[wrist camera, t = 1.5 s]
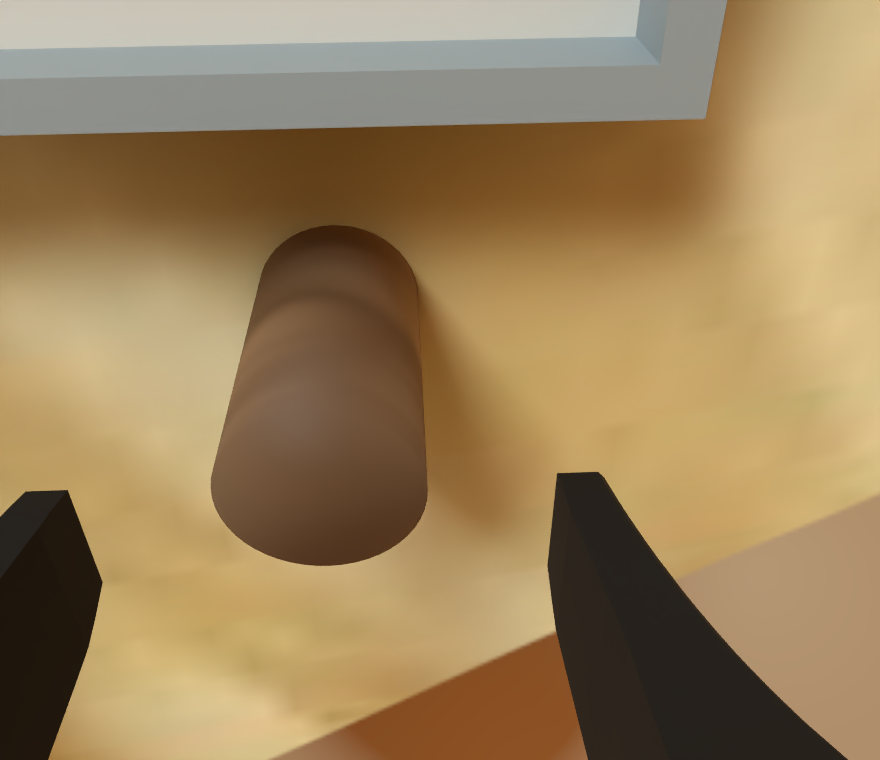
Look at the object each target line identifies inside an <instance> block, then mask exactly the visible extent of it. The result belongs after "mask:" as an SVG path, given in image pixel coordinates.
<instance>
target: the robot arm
mask: <svg viewBox="0 0 880 760" xmlns="http://www.w3.org/2000/svg"><path fill="white" fill-rule="evenodd" d="M548 573H549V581H550V589H551V597H552V604H553V612H554V619H555V626H556V631H557V636H558V639H559V644H560V648H561V652H562V656H563V660H564V664H565V669H566V673H567V677H568V681H569V685H570V688H571V693H572V697H573V701H574V705H575V709H576V713H577V717H578V721H579V725H580V729H581V732H582V736H583V741H584V745H585V749H586V753H587V757H588V760H848V759H847V758H845V757H844V756H843V755H842V754H841V753H840V752H839V751H837V750H836V749H835V748H834V747H833V746H832V745H830V744H829V743H828V742H827V741H826V740H825V739H824V738H822V737H821V736H820V735H819V734H818V733H817V732H816V731H814V730H813V729H812V728H811V727H809V725H807V724H806V723H805V722H804V721H803V720H802V719H801V718H800V717H799V716H798V715H797V714H796V713H795V712H794V711H793V710H792V709H791V708H790V707H788V706H787V705H786V704H785V703H784V702H783V701H782V700H781V699H780V698H779V697H778V696H777V695H776V694H775V693H774V692H773V691H772V690H771V689H770V688H769V687H768V686H767V685H766V684H765V683H764V682H763V681H762V680H761V679H760V678H759V677H758V676H757V675H756V674H755V673H754V672H753V671H752V670H751V669H750V668H749V667H748V666H747V664H745V662H744V661H742V659H741V658H740V657H739V656H738V655H737V654H736V653H735V652H734V650H732V648H731V647H730V646H729V645H728V644H727V643H726V642H725V640H724V639H723V638H722V637H721V636H720V635H719V634H718V633H717V631H716V630H715V629H714V628H713V627H712V625H711V624H710V623H709V622H708V621H707V620H706V618H705V617H704V616H703V615H702V614H701V613H700V612H699V610H698V609H697V608H696V607H695V605H694V604H693V603H692V602H691V600H690V599H689V598H688V597H687V595H686V594H685V593H684V592H683V591H682V589H681V588H680V587H679V585H678V584H677V583H676V581H675V580H674V579H673V577H672V576H671V575H670V573H669V572H668V571H667V570H666V568H665V567H664V566H663V564H662V563H661V562H660V560H659V559H658V558H657V556H656V555H655V554H654V552H653V551H652V549H651V548H650V547H649V545H648V544H647V543H646V541H645V540H644V538H643V537H642V535H641V534H640V532H639V531H638V530H637V528H636V527H635V525H634V524H633V522H632V521H631V519H630V518H629V516H628V515H627V513H626V512H625V510H624V509H623V507H622V506H621V504H620V502H619V501H618V499H617V498H616V496H615V494H614V493H613V491H612V490H611V488H610V486H609V485H608V483H607V481H606V480H605V478H604V477H603V476H602V475H601V474H600V473H599V472H581V473H557V480H556V490H555V499H554V509H553V518H552V528H551V538H550V547H549V557H548ZM102 583H103V582H102V580H101V577H100V574H99V572H98V569H97V566H96V564H95V561H94V558H93V556H92V553H91V551H90V548H89V545H88V543H87V540H86V537H85V535H84V532H83V529H82V527H81V524H80V522H79V519H78V516H77V514H76V511H75V508H74V506H73V503H72V500H71V498H70V495H69V493H68V490H59V491H30V492H25V493H24V494H23V495H22V496H21V497H20V498H19V499H18V500H17V501H16V502H14V503H13V504H12V505H11V506H10V507H9V508H8V509H7V510H6V512H5V513H4V514H3V515H2V516H1V517H0V760H48V758H49V755H50V753H51V750H52V747H53V744H54V742H55V739H56V736H57V733H58V731H59V728H60V725H61V723H62V720H63V717H64V714H65V712H66V709H67V706H68V703H69V701H70V698H71V695H72V692H73V690H74V687H75V684H76V681H77V678H78V676H79V673H80V670H81V667H82V664H83V661H84V658H85V656H86V653H87V650H88V647H89V642H90V638H91V634H92V630H93V625H94V621H95V617H96V612H97V607H98V602H99V597H100V592H101V587H102Z"/></svg>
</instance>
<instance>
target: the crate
mask: <svg viewBox="0 0 880 760" xmlns="http://www.w3.org/2000/svg"><path fill="white" fill-rule="evenodd" d="M726 5H727V0H0V136H8V135H50V134H93V133H135V132H177V131H219V130H262V129H304V128H346V127H388V126H430V125H473V124H515V123H557V122H599V121H642V120H684V119H705V118H706V113H707V107H708V102H709V97H710V91H711V86H712V80H713V75H714V70H715V64H716V59H717V53H718V48H719V42H720V37H721V32H722V26H723V21H724V15H725V10H726Z"/></svg>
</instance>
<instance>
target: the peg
mask: <svg viewBox="0 0 880 760" xmlns="http://www.w3.org/2000/svg"><path fill="white" fill-rule="evenodd" d="M427 492H428V487H427V468H426V448H425V428H424V408H423V388H422V368H421V348H420V329H419V309H418V292H417V285H416V281H415V277H414V275H413V272H412V270H411V268H410V266H409V265H408V263H407V261H406V260H405V259H404V257H403V256H402V255H401V254H400V252H399V251H397V250H396V249H395V248H394V247H393V246H392V245H391V244H389V243H388V242H387V241H385V240H384V239H382V238H380V237H378V236H377V235H375V234H372V233H370V232H368V231H365V230H362V229H358V228H354V227H348V226H321V227H317V228H312V229H309V230H306V231H303V232H300V233H298V234H296V235H294V236H292V237H291V238H289V239H288V240H286V241H285V242H283V243H282V244H281V245H280V246H279V247H278V248H277V249H276V250H275V251H274V252H273V253H272V255H271V256H270V257H269V259H268V261H267V262H266V264H265V266H264V269H263V271H262V274H261V278H260V282H259V286H258V290H257V294H256V298H255V302H254V306H253V310H252V314H251V318H250V322H249V326H248V330H247V334H246V338H245V342H244V346H243V350H242V354H241V358H240V363H239V367H238V371H237V375H236V379H235V383H234V387H233V391H232V395H231V399H230V403H229V407H228V411H227V415H226V419H225V423H224V427H223V431H222V435H221V439H220V443H219V447H218V451H217V455H216V459H215V463H214V467H213V472H212V476H211V493H212V499H213V502H214V505H215V508H216V510H217V512H218V514H219V516H220V518H221V519H222V520H223V522H224V523H225V524H226V526H227V527H228V528H229V529H230V530H231V531H232V532H233V533H234V534H235V535H236V536H237V537H238V538H240V539H241V540H242V541H243V542H245V543H246V544H248V545H250V546H251V547H253V548H254V549H256V550H258V551H260V552H262V553H264V554H267V555H269V556H272V557H275V558H277V559H281V560H284V561H288V562H292V563H298V564H304V565H315V566H331V565H343V564H349V563H354V562H358V561H362V560H365V559H369V558H371V557H374V556H376V555H379V554H381V553H383V552H385V551H387V550H389V549H390V548H392V547H393V546H395V545H397V544H398V543H399V542H401V541H402V540H403V539H404V538H405V537H406V536H408V534H409V533H410V532H411V531H412V530H413V529H414V528H415V526H416V525H417V523H418V522H419V520H420V519H421V516H422V514H423V512H424V510H425V506H426V502H427Z"/></svg>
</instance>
